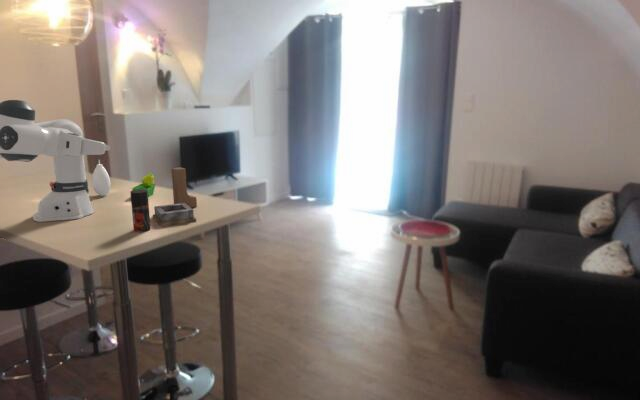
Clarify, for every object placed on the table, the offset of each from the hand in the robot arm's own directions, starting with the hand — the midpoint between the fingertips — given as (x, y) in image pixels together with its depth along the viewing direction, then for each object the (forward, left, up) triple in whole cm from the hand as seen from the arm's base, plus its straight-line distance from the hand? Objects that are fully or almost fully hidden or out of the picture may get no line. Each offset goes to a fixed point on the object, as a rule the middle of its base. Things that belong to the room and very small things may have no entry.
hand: (99, 145), depth 158 cm
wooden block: (+35, +30, -33) cm, 57 cm away
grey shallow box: (+26, +14, -33) cm, 45 cm away
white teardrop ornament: (+6, +71, -33) cm, 79 cm away
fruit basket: (+24, +60, -34) cm, 73 cm away
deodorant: (+12, +6, -33) cm, 36 cm away
